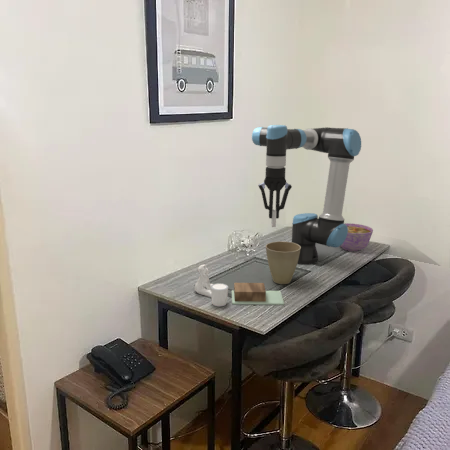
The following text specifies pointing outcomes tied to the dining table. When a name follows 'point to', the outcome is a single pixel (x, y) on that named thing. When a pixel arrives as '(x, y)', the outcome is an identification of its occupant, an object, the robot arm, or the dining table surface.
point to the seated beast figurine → (203, 281)
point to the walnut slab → (250, 292)
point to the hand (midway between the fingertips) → (273, 226)
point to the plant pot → (282, 260)
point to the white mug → (219, 294)
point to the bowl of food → (357, 237)
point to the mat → (271, 299)
